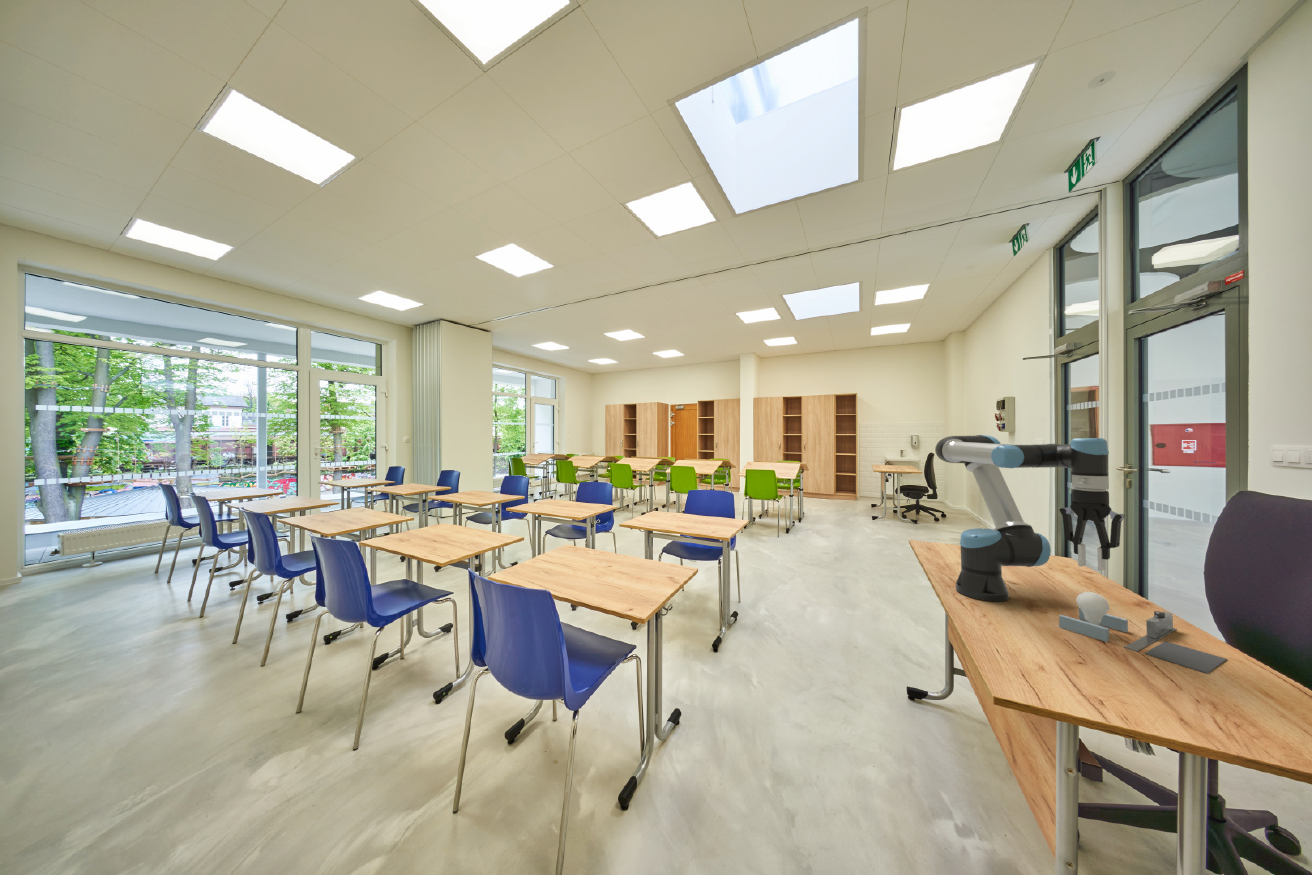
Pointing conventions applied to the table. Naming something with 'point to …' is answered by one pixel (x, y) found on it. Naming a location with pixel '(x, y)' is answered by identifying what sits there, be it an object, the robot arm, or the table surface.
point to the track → (1145, 641)
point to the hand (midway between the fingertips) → (1091, 567)
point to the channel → (1093, 625)
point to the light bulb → (1092, 606)
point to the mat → (1186, 657)
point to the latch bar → (1159, 624)
